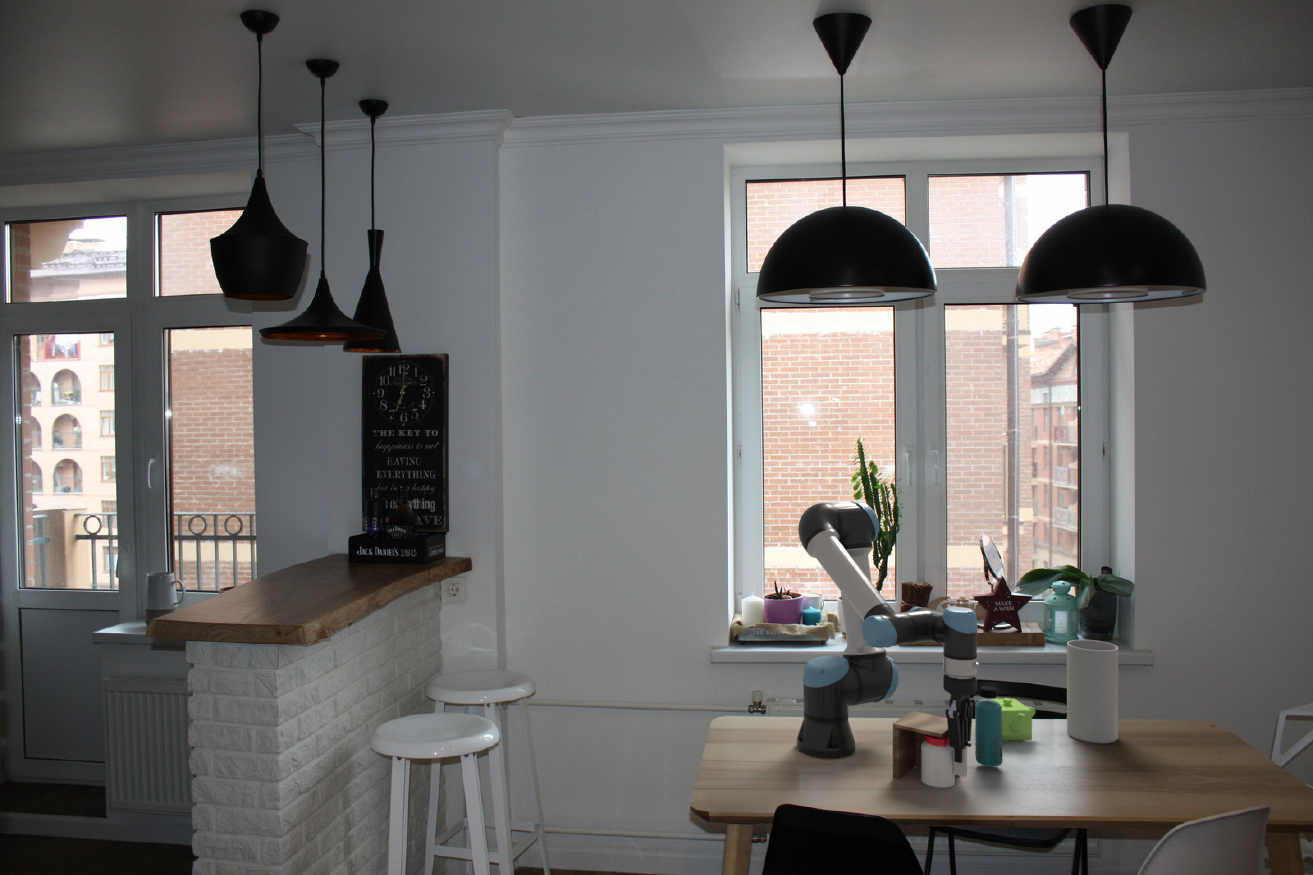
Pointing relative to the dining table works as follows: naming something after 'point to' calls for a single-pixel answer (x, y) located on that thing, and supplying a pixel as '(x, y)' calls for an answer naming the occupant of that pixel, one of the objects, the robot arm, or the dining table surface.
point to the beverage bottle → (988, 728)
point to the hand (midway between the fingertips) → (960, 774)
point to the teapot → (1016, 720)
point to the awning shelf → (913, 739)
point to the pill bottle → (937, 762)
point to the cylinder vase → (1092, 691)
